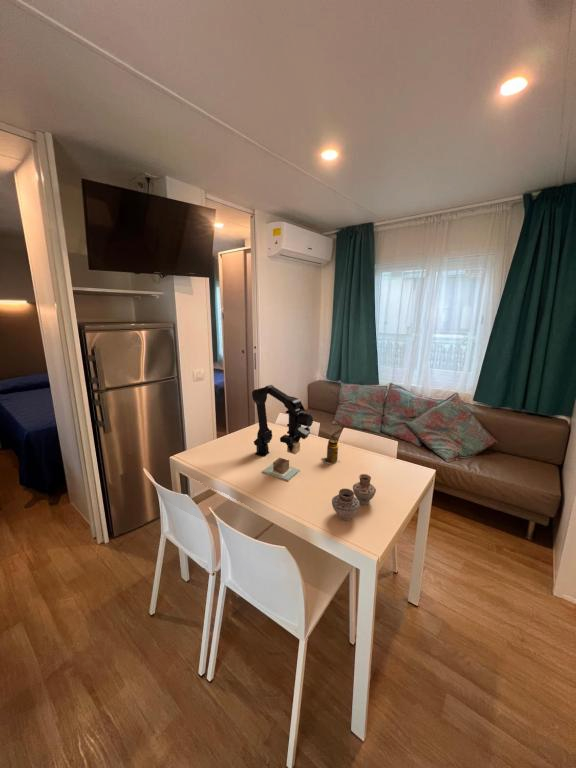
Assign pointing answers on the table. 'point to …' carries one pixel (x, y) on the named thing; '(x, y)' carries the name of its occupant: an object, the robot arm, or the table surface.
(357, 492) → the pottery
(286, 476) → the base board
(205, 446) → the table surface
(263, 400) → the robot arm
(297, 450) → the oak cube
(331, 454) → the condiment
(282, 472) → the walnut block
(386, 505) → the table surface
